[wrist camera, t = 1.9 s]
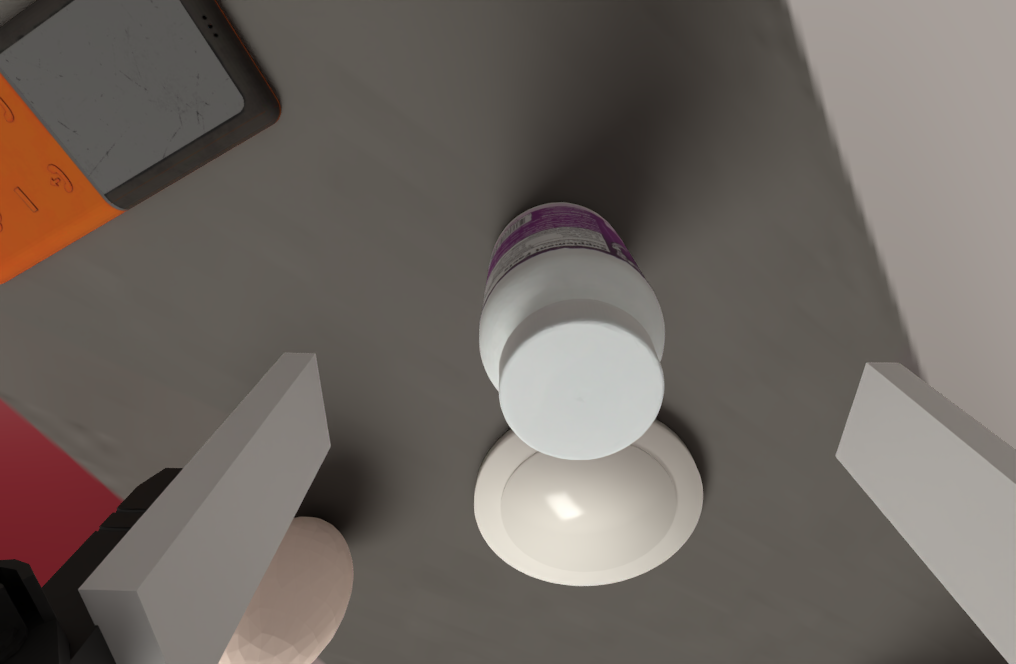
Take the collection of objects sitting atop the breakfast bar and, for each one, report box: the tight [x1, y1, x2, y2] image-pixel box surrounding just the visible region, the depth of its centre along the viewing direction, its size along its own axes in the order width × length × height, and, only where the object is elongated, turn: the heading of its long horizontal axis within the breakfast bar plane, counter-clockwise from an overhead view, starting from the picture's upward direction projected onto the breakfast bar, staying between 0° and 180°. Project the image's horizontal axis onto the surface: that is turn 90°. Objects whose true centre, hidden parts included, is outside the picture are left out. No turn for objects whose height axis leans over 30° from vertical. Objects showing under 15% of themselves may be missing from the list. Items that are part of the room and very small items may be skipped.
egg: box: [219, 517, 354, 664], centre depth 24 cm, size 6×6×8 cm
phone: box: [0, 0, 281, 284], centre depth 19 cm, size 6×1×15 cm
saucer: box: [474, 419, 703, 586], centre depth 26 cm, size 11×11×1 cm
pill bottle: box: [479, 202, 665, 460], centre depth 17 cm, size 5×5×10 cm
